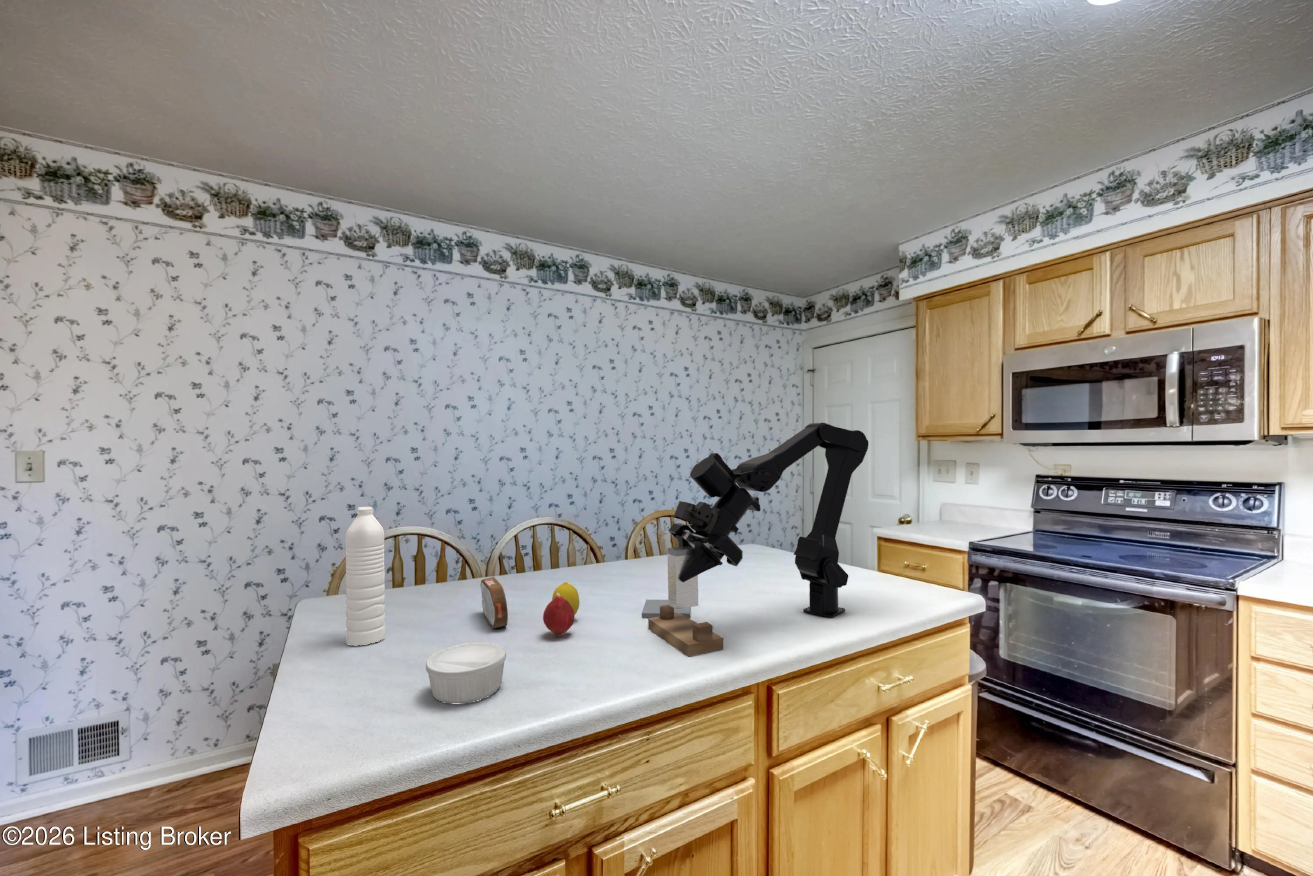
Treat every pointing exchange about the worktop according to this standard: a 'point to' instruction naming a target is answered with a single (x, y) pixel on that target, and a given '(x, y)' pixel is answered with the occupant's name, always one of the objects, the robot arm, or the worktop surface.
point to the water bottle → (365, 579)
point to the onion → (558, 615)
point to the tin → (494, 602)
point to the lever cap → (677, 590)
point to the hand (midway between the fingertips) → (676, 578)
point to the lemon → (568, 595)
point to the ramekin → (466, 672)
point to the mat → (653, 609)
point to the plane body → (685, 632)
